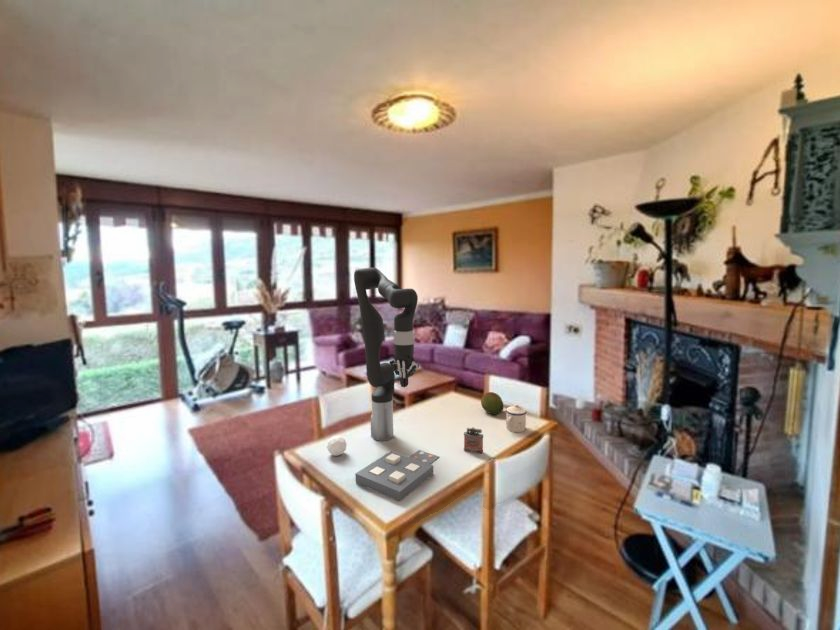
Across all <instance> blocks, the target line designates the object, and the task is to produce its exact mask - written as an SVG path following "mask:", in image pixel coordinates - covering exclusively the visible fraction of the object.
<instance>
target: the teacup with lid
mask: <svg viewBox="0 0 840 630" xmlns="http://www.w3.org/2000/svg"><path fill="white" fill-rule="evenodd" d="M505 411H506V421H505V422H506V426H505V427H506V429H507V430H508V431H509V430H510V432H512V431H513V432H514V433H522V431H523V432H524V431H525V430H526V424H527V423H526V421H527V417H526V415H527V410H526V408H525V407H522V406H520V405H519V404H518V403H514V405H512V406H509V407H507V408H506V409H505ZM513 432H512V433H513Z"/></svg>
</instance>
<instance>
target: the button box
mask: <svg viewBox="0 0 840 630" xmlns="http://www.w3.org/2000/svg"><path fill="white" fill-rule="evenodd" d="M391 454H395V455H398V456H400V457H401V461H400V462H398V463H397V464H395V465H392V464H389V463H386V457H387V456H389V455H391ZM411 463H413V464H415V465H418V466H420V468H419V469H418V470H417V471H415V472H411V471H408V470H406V469H405V467H406V466H408V465H409V464H411ZM375 467H379V468H382V469H385V472H384V473H382V474H381V475H379V476H376V475H373V474H371V473H369V471H371V470H372V469H374V468H375ZM395 471H398V472H401V473H404V474H405V480H403V481H402V482H401V483H399V484H396V483H393V482H391V481H389V475H391V474H392V473H393V472H395ZM433 475H434V465H432V464H427V463H424V462H422V461H419V460H416V459H413V458H410V457H409V456H406V455H404V454H401V453H398V452H395V451H393V450H390V451H389V452H387V453H386V454H384V455H382V456H381V457H379V458H378V459H376V460H375V461H373V462H371V463H370V464H368V465H366V466H365V467H363V468H362V469H360V470H359V471H357V472H356V473H355V476H354V477H355V483H356V484H357V485H360V486H363V487H364V488H367V489H369V490H372V491H374V492H376V493H379V494H381V495H383V496H385V497H388V498H391V499H393V500H395V501H398V502H401V501H403V500H404V499H405V498H407V496H409V495H410V494H412V492H414V491H415V490H416V489H418V488H419V487H420V486H421V485H422V484H423V483H425V482H426V481H427V480H429V479H430V478H431V477H433ZM429 477H430V478H429Z"/></svg>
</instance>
